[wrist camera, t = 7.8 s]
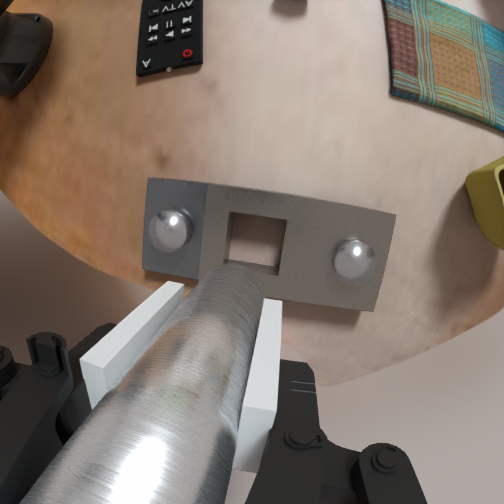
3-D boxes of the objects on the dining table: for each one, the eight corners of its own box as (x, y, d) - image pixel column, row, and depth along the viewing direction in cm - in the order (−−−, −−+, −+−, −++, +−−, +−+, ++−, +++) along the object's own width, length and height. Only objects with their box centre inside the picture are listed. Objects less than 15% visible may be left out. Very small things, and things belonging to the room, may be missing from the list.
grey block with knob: (205, 276, 32) (193, 290, 28) (215, 183, 30) (203, 183, 25) (366, 300, 31) (377, 318, 27) (386, 211, 29) (402, 216, 24)
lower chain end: (147, 265, 33) (133, 274, 29) (153, 177, 30) (139, 177, 27) (296, 291, 31) (297, 303, 28) (312, 197, 29) (316, 199, 26)
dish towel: (528, 145, 24) (539, 144, 22) (388, 99, 26) (396, 92, 24) (512, 42, 20) (521, 37, 18) (377, -14, 22) (382, -24, 20)
